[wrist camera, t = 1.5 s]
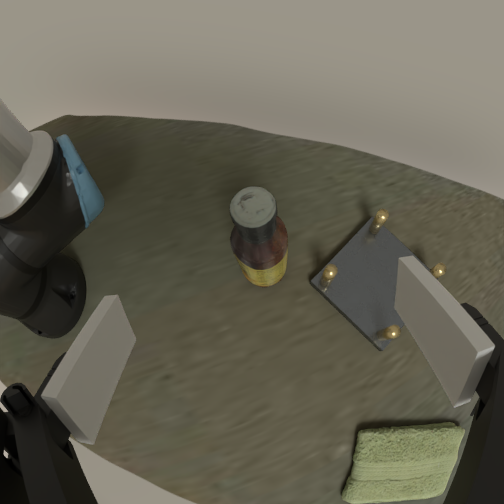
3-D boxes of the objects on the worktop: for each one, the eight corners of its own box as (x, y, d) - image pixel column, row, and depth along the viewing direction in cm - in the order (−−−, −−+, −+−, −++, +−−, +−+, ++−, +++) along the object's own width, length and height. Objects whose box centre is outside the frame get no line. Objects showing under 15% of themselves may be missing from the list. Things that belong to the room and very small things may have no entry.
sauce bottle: (244, 247, 46) (219, 169, 28) (287, 248, 46) (288, 168, 27) (242, 291, 44) (212, 235, 26) (286, 292, 43) (289, 236, 25)
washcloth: (440, 493, 30) (449, 499, 27) (337, 500, 32) (341, 509, 29) (460, 419, 34) (470, 421, 31) (356, 421, 36) (362, 425, 33)
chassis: (309, 283, 43) (314, 270, 37) (370, 220, 46) (381, 200, 40) (379, 351, 39) (395, 348, 33) (434, 281, 42) (453, 268, 35)
